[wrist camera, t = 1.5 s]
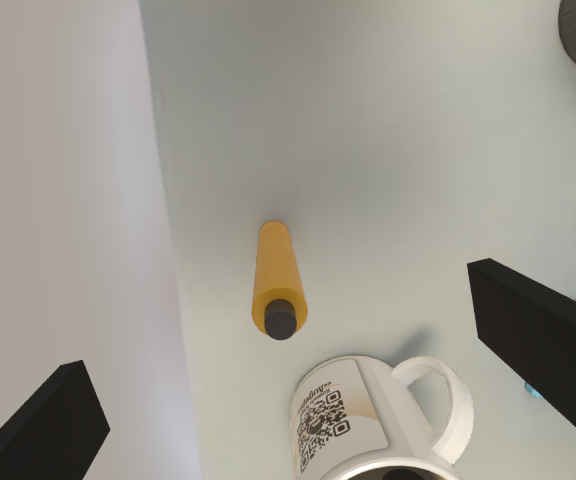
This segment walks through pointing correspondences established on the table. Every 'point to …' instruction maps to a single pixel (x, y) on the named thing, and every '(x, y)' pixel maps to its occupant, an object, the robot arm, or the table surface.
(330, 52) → the table surface
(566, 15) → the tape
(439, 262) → the table surface
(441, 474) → the mug
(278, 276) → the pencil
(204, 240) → the table surface
